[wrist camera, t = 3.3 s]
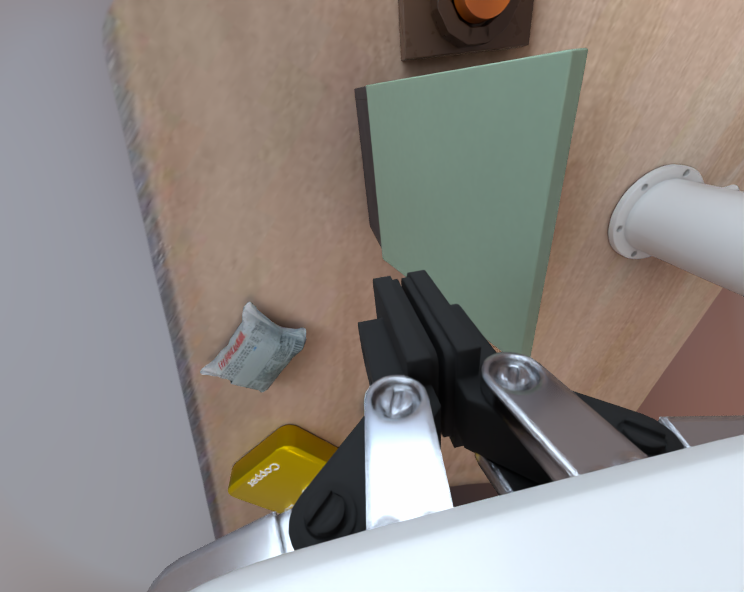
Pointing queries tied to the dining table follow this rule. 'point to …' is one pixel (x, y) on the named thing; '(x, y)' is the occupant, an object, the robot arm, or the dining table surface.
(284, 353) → the packaged food
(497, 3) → the button
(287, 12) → the dining table surface
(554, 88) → the lid
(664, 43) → the dining table surface
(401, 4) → the switch block
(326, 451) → the element tile
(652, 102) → the dining table surface
